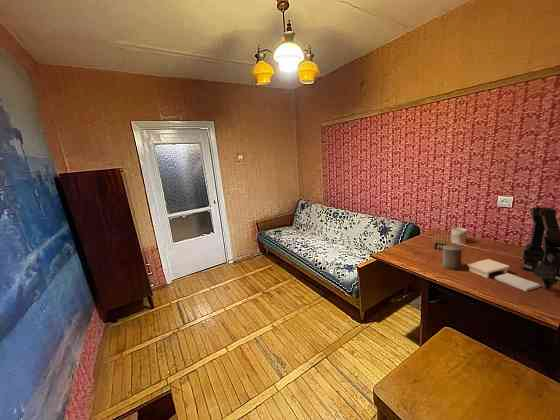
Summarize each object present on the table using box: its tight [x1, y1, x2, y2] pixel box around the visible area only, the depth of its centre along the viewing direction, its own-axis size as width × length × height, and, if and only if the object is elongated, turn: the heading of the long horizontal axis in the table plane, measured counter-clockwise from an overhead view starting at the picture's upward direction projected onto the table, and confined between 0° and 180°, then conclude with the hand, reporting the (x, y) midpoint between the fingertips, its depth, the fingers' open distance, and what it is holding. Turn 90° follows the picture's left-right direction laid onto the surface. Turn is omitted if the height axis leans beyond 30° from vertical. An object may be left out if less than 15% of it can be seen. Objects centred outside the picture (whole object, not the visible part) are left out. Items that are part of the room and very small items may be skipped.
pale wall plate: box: [494, 272, 541, 292], centre depth 124 cm, size 10×14×2 cm
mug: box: [450, 227, 468, 245], centre depth 184 cm, size 10×12×11 cm
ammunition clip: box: [433, 234, 453, 251], centre depth 173 cm, size 11×2×12 cm, turn 55°
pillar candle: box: [442, 244, 463, 271], centre depth 146 cm, size 10×10×15 cm
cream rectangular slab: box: [467, 258, 510, 279], centre depth 137 cm, size 17×11×4 cm, turn 105°
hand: (548, 289), depth 112 cm, fingers closed
